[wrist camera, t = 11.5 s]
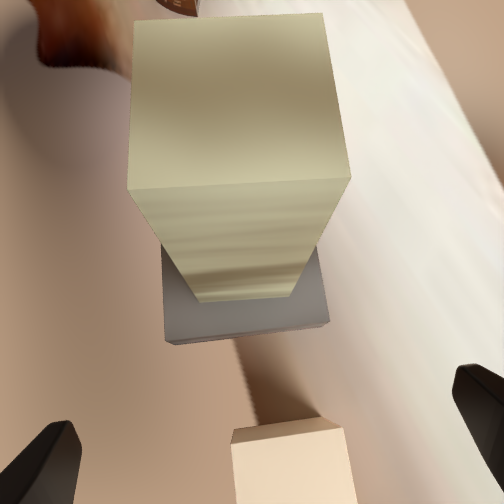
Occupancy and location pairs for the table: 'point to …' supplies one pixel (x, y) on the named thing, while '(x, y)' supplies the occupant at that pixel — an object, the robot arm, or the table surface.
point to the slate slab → (240, 308)
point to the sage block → (236, 147)
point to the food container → (182, 6)
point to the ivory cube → (292, 463)
